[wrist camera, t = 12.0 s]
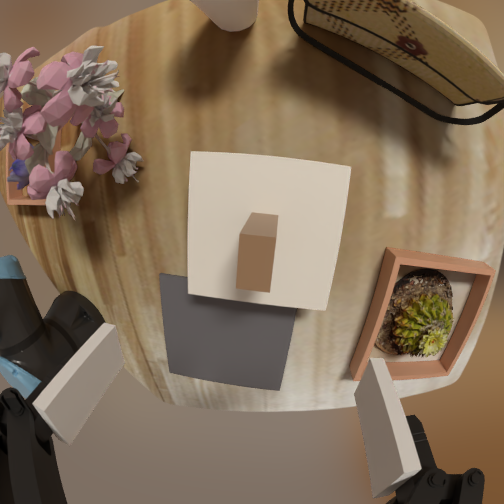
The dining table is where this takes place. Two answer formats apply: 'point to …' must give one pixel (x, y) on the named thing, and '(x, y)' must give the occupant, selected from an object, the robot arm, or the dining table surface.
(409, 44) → the clutch purse
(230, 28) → the foam cup
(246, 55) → the dining table surface
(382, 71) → the dining table surface
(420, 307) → the cactus
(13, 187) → the flower tray
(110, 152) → the flower
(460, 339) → the cactus tray
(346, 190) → the board
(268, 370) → the rubber mat
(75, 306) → the robot arm
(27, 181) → the flower
